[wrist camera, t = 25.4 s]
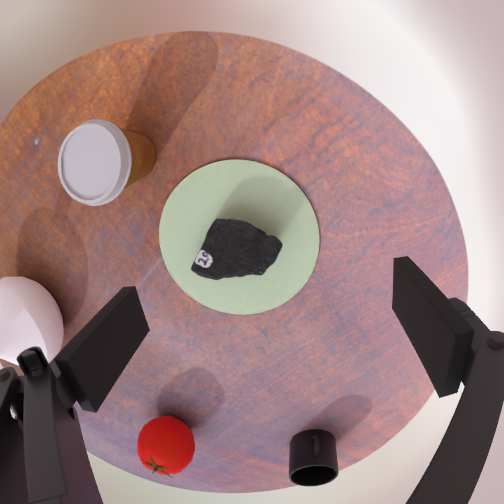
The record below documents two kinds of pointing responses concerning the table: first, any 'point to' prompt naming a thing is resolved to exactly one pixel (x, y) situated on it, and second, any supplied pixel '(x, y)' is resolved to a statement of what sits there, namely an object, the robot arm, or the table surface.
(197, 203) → the mat
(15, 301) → the vase
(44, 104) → the table surface
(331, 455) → the mug
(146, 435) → the tomato
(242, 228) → the rock
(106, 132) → the disposable coffee cup
